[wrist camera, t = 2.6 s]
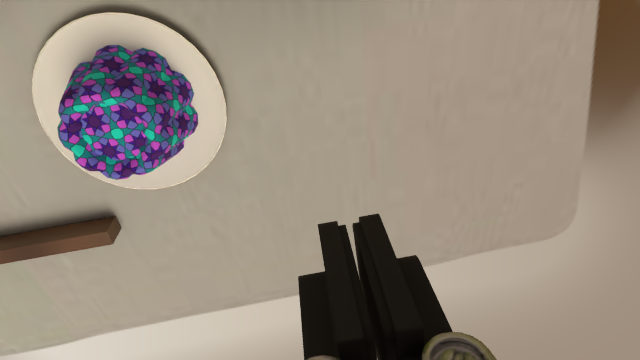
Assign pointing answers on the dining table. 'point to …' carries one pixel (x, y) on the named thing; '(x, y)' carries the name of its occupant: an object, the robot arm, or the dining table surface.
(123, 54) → the pudding
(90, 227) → the frame
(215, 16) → the dining table surface
